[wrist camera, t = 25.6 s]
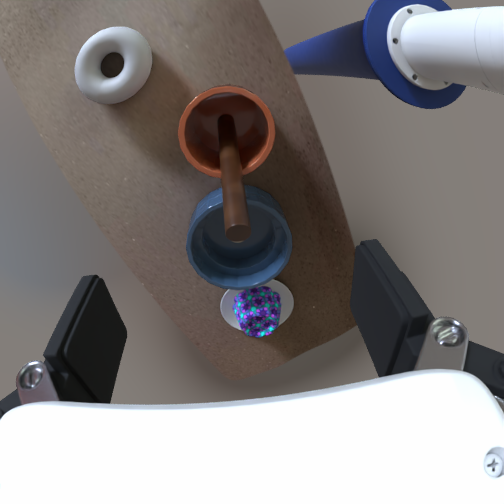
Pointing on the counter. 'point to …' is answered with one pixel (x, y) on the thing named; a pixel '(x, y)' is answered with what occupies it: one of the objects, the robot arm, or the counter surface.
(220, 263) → the bowl
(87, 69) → the donut
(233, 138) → the stick
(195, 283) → the counter surface
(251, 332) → the pudding
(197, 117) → the crock
